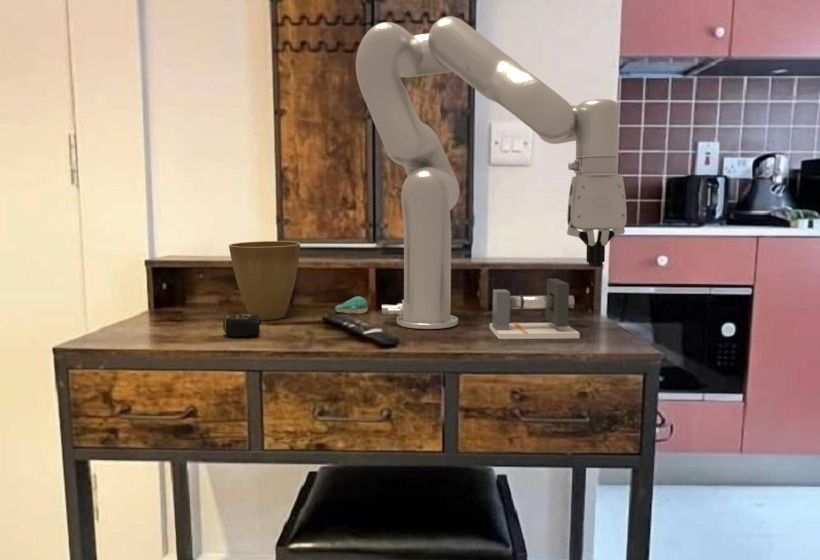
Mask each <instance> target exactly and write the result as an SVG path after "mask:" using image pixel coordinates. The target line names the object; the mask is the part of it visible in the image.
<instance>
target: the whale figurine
mask: <svg viewBox="0 0 820 560" xmlns="http://www.w3.org/2000/svg"><path fill="white" fill-rule="evenodd" d="M334 309H335V311H336V312H337V313H343V314H347V315H350V314H351V315H361V314H362V315H363V314H365V313H367V312H368V309H369V305H368V302H367V300H366V298H364V297H362V296H354V297H352V298H350V299H349V300H346V301H345V302H343V303H342V304H338V305H336V306H335V307H334Z"/></svg>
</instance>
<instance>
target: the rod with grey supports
mask: <svg viewBox="0 0 820 560" xmlns="http://www.w3.org/2000/svg"><path fill="white" fill-rule="evenodd" d="M574 307H575V297H574V295H569V302H568V309H574ZM546 308H554V296H546V295H521V294H519V295H511V292H510V290H508V289H504V288H503V289H500V288H497V289H494V288H493V289H492V317H491V318H492V320H491V321H492V322H491V323H492V326H493V328H494V329H495V330H509V324H510V323H511V322H510V321H511V320H510V319H511V318H510V315H511V314H510V313H511V312H510V310H513V309H515V310H516V309H519V310H523V309H546Z"/></svg>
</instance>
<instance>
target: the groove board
mask: <svg viewBox="0 0 820 560" xmlns="http://www.w3.org/2000/svg"><path fill="white" fill-rule="evenodd" d="M489 329H490V330H491V332H492V333H493V334H494V335H495V336H496V337H497V339H499V340H528V339H529V340H530V339H531V340H532V339H533V340H534V339H535V340H536V339H538V340H542V339H543V340H544V339H546V340H548V339H551V340H552V339H556V340H557V339H580V336H581V335H580V334H581V333H580V332H579V331H577V330H576V329H574V328H573V327H571V326H570V325H568V327H557V326H555V325H554V324H552V323H551V322H510V324H509V330H495V329H494V328H493V326H492V322H491V323H490V322H489Z"/></svg>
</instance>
